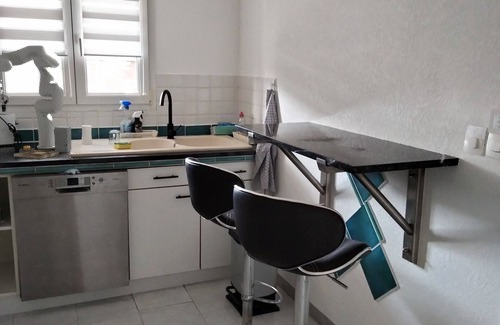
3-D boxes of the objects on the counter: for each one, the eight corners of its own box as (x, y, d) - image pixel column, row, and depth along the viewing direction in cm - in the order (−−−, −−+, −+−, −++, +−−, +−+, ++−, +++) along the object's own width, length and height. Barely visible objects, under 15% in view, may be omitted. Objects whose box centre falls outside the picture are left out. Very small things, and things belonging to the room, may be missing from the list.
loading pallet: (32, 152, 294) (32, 146, 293) (59, 154, 288) (58, 148, 287) (13, 156, 280) (13, 150, 280) (40, 158, 274) (40, 153, 273)
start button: (26, 148, 288) (26, 145, 287) (31, 149, 287) (31, 146, 286) (22, 149, 285) (22, 146, 284) (27, 150, 283) (26, 147, 283)
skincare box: (54, 152, 294) (52, 127, 290) (59, 150, 300) (57, 125, 297) (68, 152, 293) (66, 127, 290) (72, 150, 300) (71, 125, 297)
